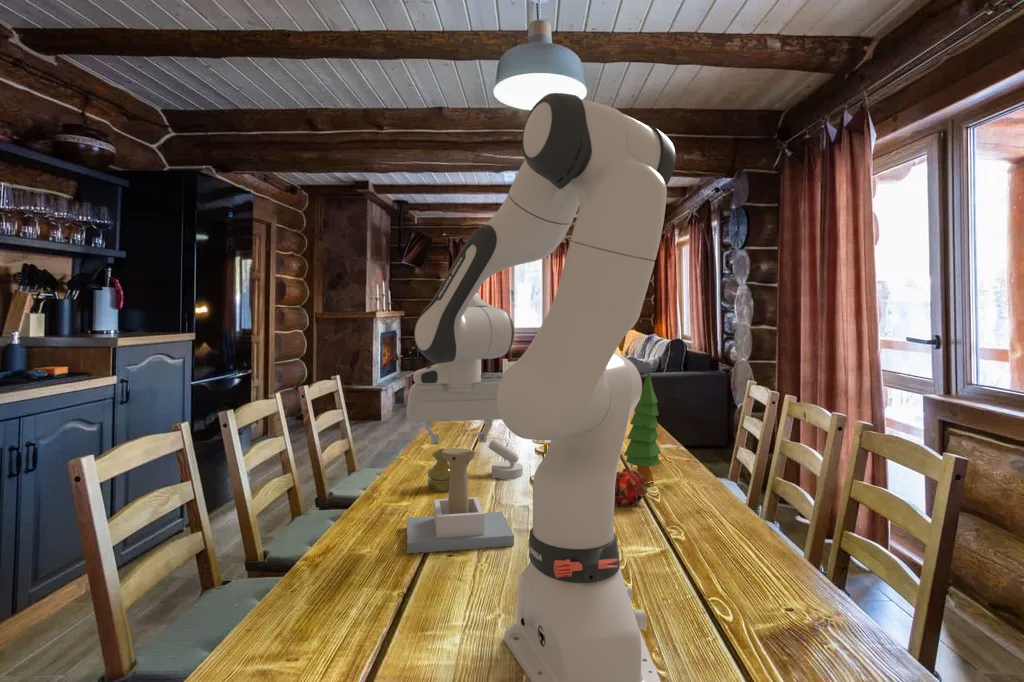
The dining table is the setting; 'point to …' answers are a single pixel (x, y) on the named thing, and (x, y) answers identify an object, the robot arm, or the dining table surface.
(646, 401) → the decorative tree
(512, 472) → the wall hook
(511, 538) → the grey base with socket
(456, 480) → the handle
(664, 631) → the dining table surface
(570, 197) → the robot arm
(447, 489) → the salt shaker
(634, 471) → the dragon fruit
